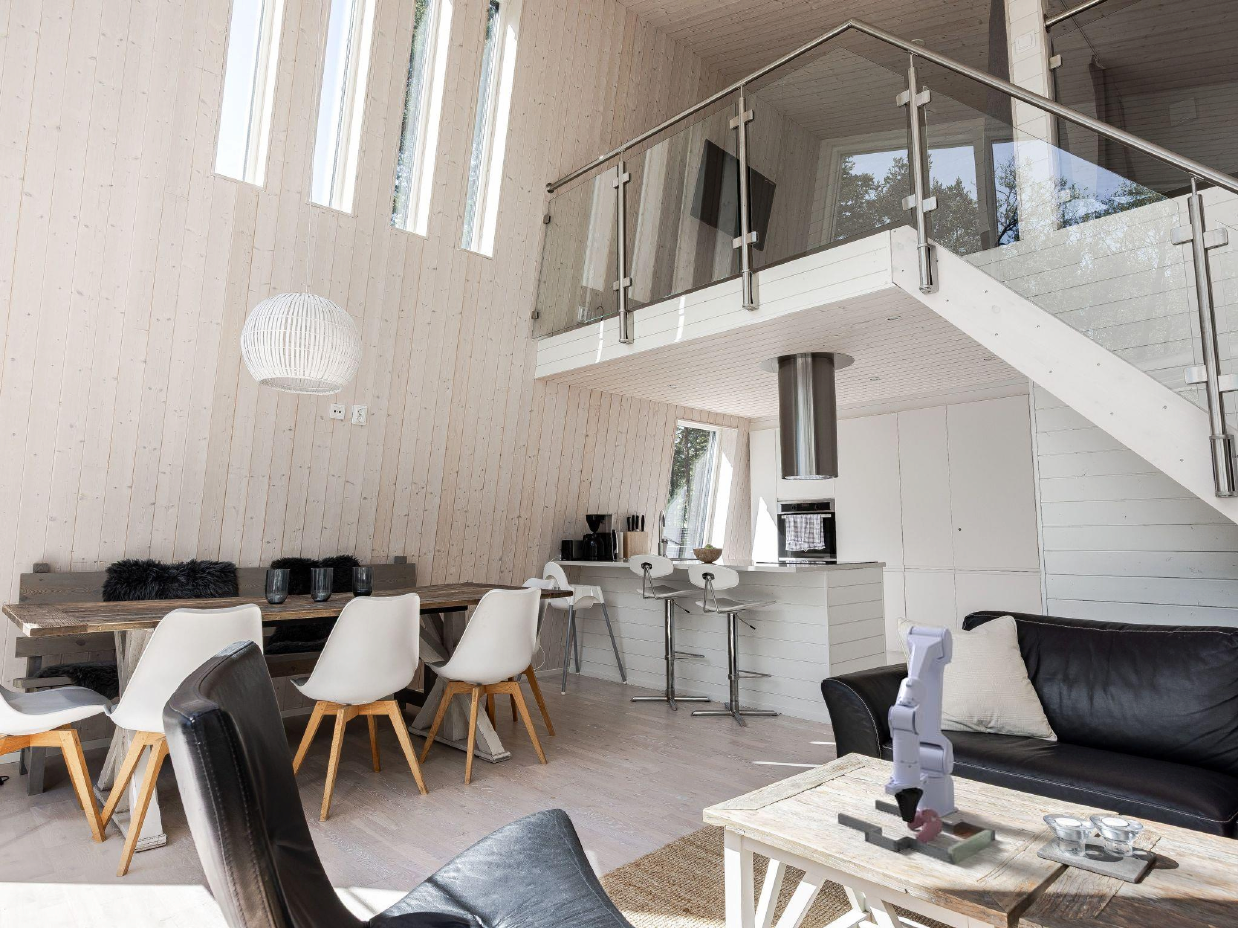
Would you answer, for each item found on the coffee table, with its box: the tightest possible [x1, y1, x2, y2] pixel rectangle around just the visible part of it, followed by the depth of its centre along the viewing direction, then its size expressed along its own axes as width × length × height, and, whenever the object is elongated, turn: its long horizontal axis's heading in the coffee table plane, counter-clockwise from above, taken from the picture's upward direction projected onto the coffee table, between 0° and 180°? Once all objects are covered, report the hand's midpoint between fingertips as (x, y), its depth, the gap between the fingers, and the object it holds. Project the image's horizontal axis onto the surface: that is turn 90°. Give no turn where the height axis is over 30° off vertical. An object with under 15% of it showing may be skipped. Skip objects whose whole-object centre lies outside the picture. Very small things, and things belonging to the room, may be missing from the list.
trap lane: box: [837, 799, 996, 865], centre depth 172 cm, size 24×28×3 cm
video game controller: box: [906, 807, 943, 843], centre depth 170 cm, size 10×5×7 cm, turn 171°
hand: (908, 821), depth 173 cm, fingers closed
